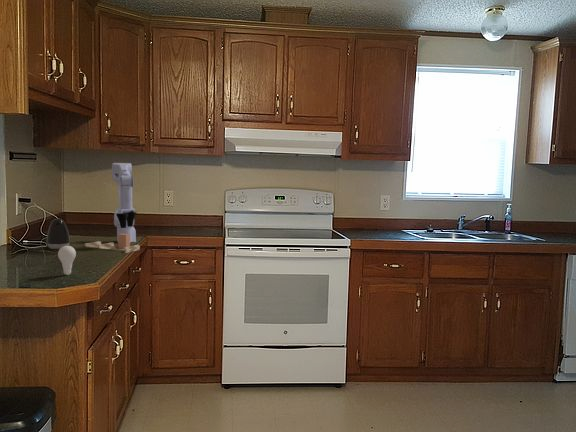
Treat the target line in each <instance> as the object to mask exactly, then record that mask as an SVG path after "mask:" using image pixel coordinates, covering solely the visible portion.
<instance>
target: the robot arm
mask: <svg viewBox="0 0 576 432" xmlns="http://www.w3.org/2000/svg"><path fill="white" fill-rule="evenodd" d="M132 169H133V166H132V163H131V162H113V163H111V173H112V179H113V181H115V182H116V184H117V191H118V192H117V194H118V195H117V196H118V208H117V209H116V210H114V213H113V214H114V215H113V224H114V226H115V227H116V239H117V240H116V241H117V243H118V234H122V233H124V234H130V243H132V242H134V243H137V239H136V238H137V237H136V236H137V232H136V229H135V218H136V216H137V213H138V212H136V210H135V207H133V187H134V176H133V174H132V173H133V172H132V171H133V170H132Z"/></svg>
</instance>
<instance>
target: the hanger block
mask: <svg viewBox="0 0 576 432" xmlns="http://www.w3.org/2000/svg"><path fill="white" fill-rule="evenodd" d="M117 243H118V244H117V245H118V249H124V247H129V246H131V242H130V234H124V233H122V234H118V242H117Z"/></svg>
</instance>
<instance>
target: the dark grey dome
mask: <svg viewBox="0 0 576 432" xmlns="http://www.w3.org/2000/svg"><path fill="white" fill-rule="evenodd" d="M47 230H48V231H47V236H46V244H47V247H48V248H49V249H50V250H51V249H52V250H60V248H62V247H64V246H70V243H71V239H70V238H71V237H70V233H69V229H68V227H67V223H65V221H64V219H62V218H59V217H58V218H54V219H53V220H52V221H51V222H50V225H49V227H48V229H47Z"/></svg>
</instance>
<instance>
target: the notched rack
mask: <svg viewBox="0 0 576 432" xmlns="http://www.w3.org/2000/svg"><path fill="white" fill-rule="evenodd" d="M84 247H85V248H93V249H100V250H101V249H102V250H112V251H113V250H114V251H120V252H121V253H124V254H127V253H131V252H138V251H140V248H141V245H140V244H135V245H130V246H129V247H124V249H118V244H116V245H115V243H114V242H113V241H112V242H105V243H102V241H100V240H97V241H94V242H87V243H86V242H85V243H84Z"/></svg>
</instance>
